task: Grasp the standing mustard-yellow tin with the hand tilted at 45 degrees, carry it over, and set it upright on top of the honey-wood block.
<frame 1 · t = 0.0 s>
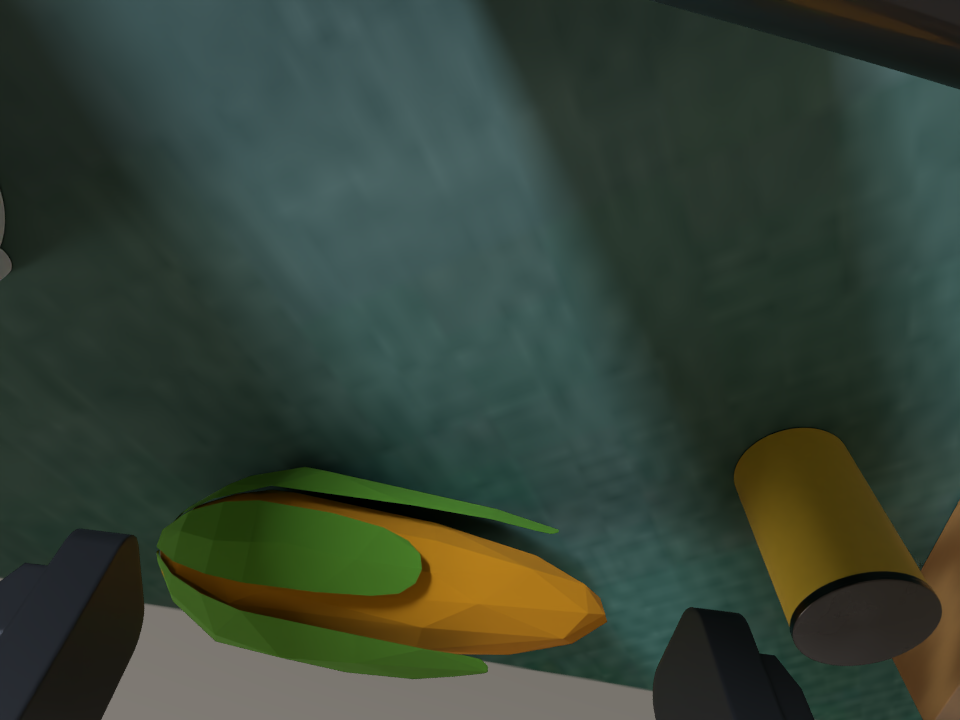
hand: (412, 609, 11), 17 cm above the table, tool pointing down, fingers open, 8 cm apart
corn: (403, 512, 34), on the table
tin: (790, 469, 32), on the table
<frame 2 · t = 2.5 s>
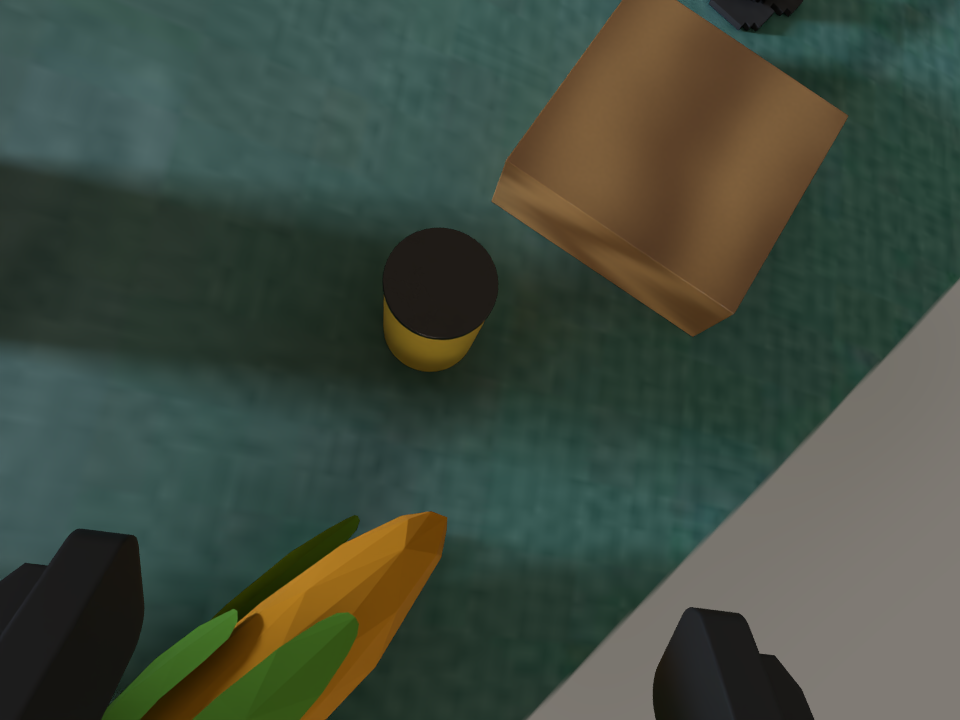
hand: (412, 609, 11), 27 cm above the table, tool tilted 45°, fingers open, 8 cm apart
wood block: (650, 179, 43), on the table
corn: (282, 650, 35), on the table
tin: (429, 327, 39), on the table
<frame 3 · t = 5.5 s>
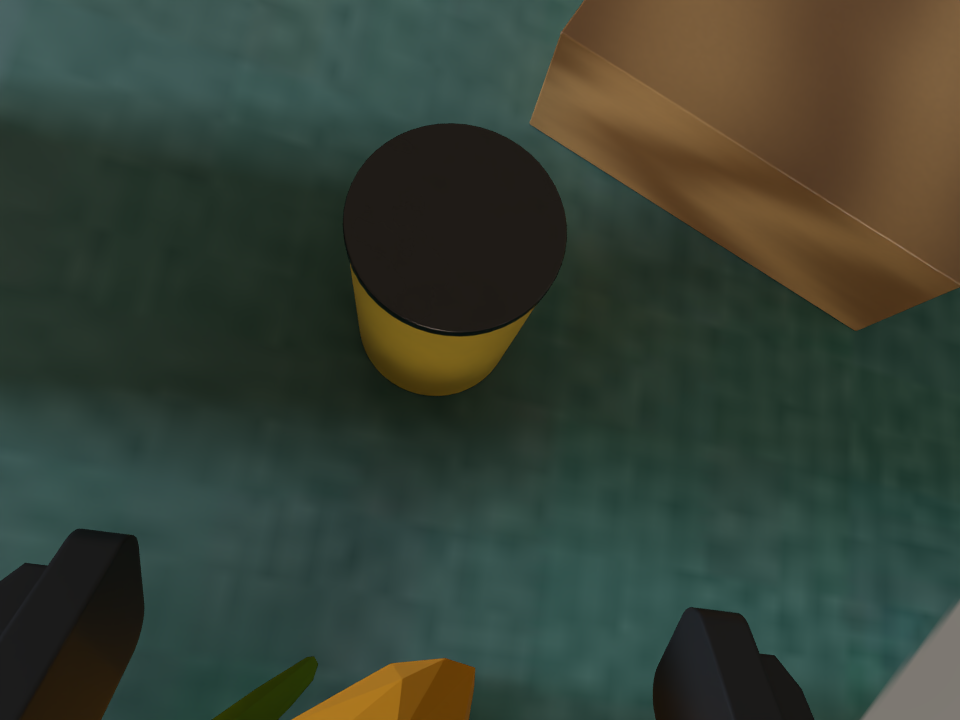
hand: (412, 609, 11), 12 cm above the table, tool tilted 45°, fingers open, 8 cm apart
wood block: (772, 90, 28), on the table
tin: (435, 322, 24), on the table
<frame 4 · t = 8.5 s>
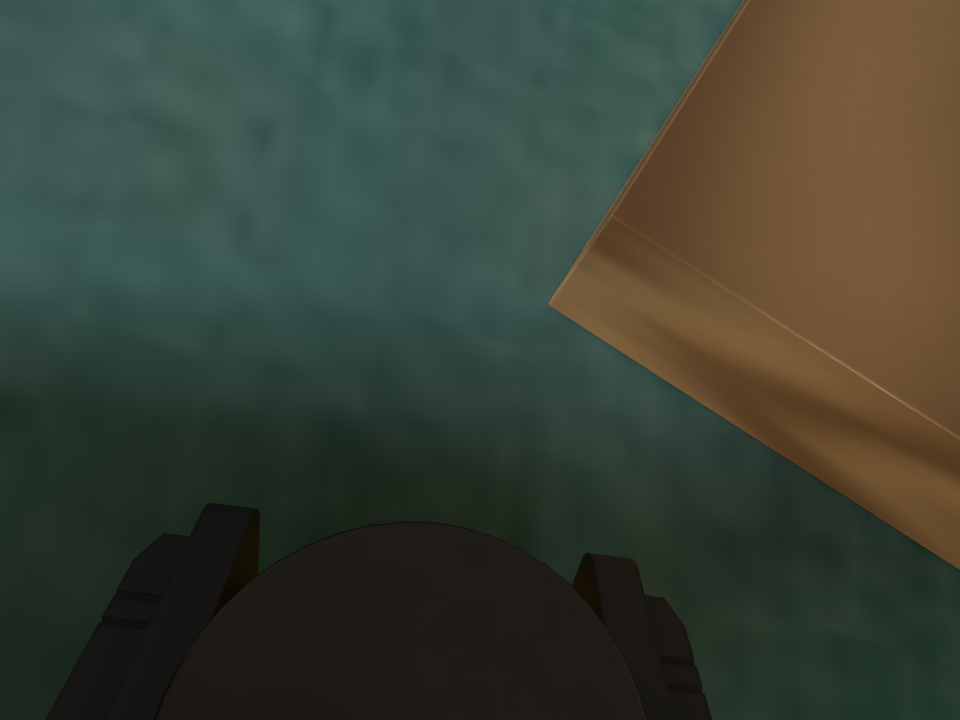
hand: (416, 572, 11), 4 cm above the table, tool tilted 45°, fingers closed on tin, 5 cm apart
wood block: (909, 239, 19), on the table
tin: (396, 653, 15), on the table, touching gripper
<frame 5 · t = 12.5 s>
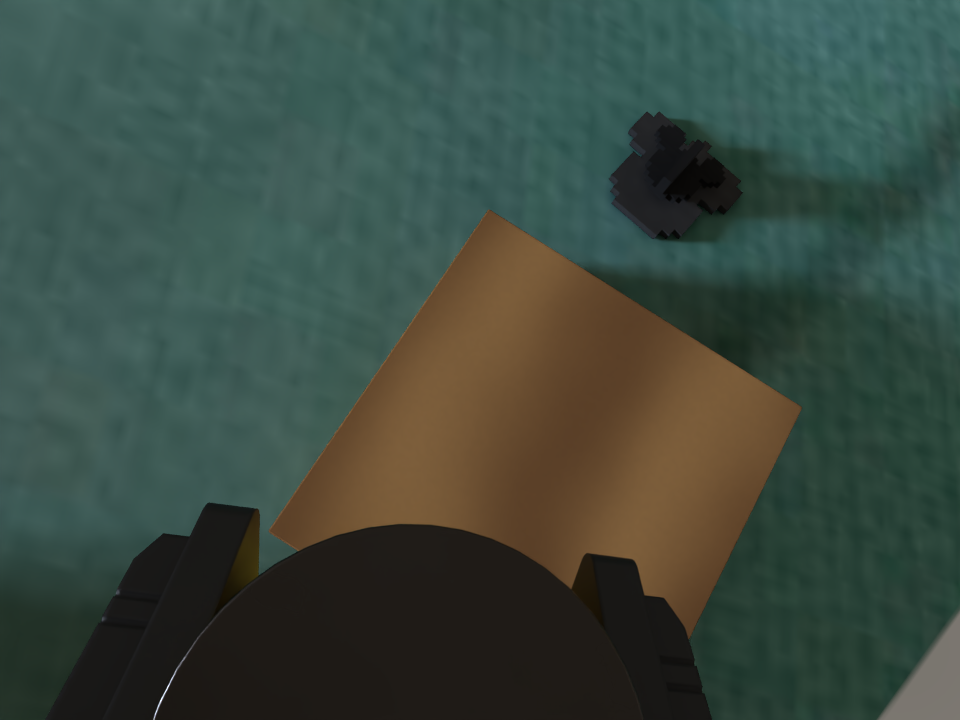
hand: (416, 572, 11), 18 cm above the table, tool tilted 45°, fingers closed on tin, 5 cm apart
wood block: (526, 475, 30), on the table
block figure: (665, 184, 34), on the table
tin: (395, 654, 15), point 14 cm above the table, touching gripper
when the fingers open (9 cm above the table, at t = 16.4 s): tin stays where it is, resting on wood block.
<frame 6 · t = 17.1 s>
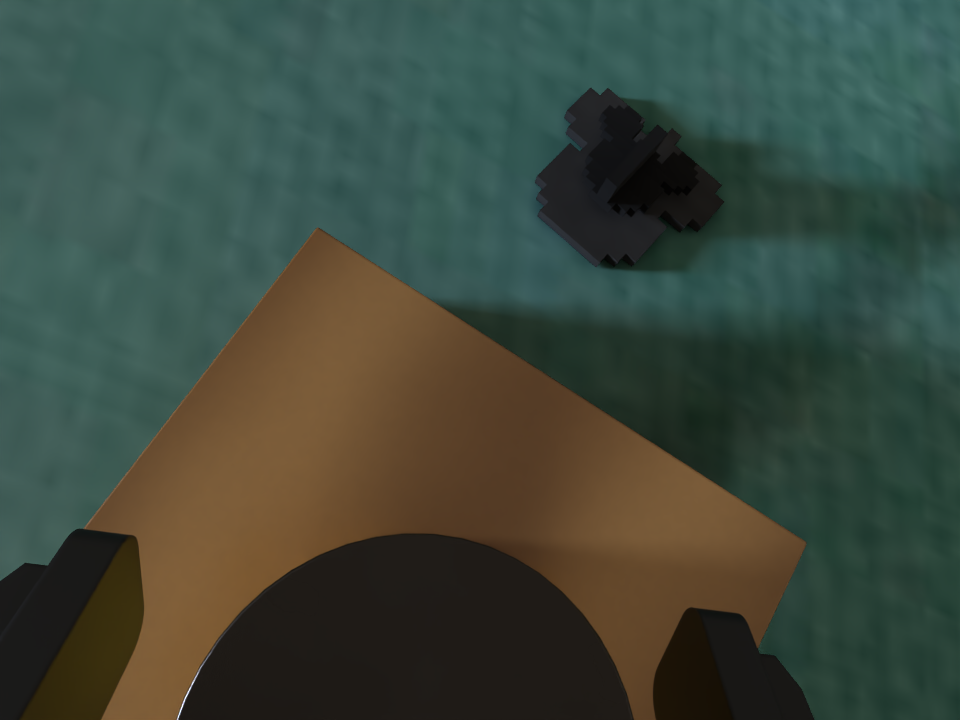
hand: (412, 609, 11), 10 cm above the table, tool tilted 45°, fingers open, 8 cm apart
wood block: (395, 620, 20), on the table
block figure: (616, 189, 24), on the table
tin: (400, 654, 15), point 5 cm above the table, touching wood block
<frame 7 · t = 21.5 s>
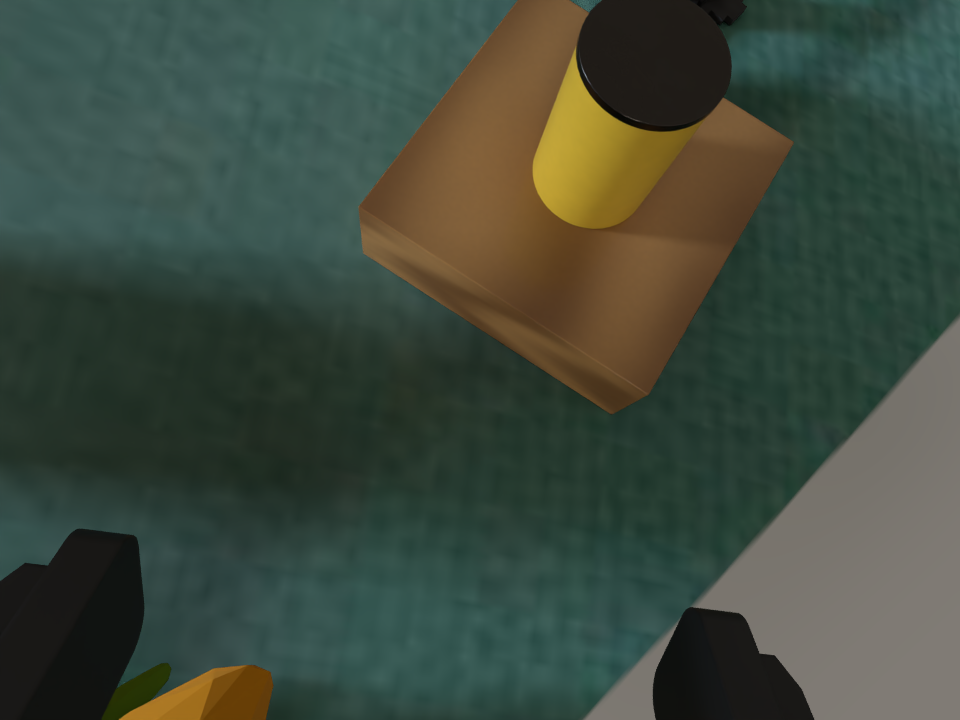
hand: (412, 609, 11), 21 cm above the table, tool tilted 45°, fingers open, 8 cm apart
wood block: (561, 221, 35), on the table
block figure: (680, 0, 40), on the table
tin: (589, 175, 31), point 5 cm above the table, touching wood block
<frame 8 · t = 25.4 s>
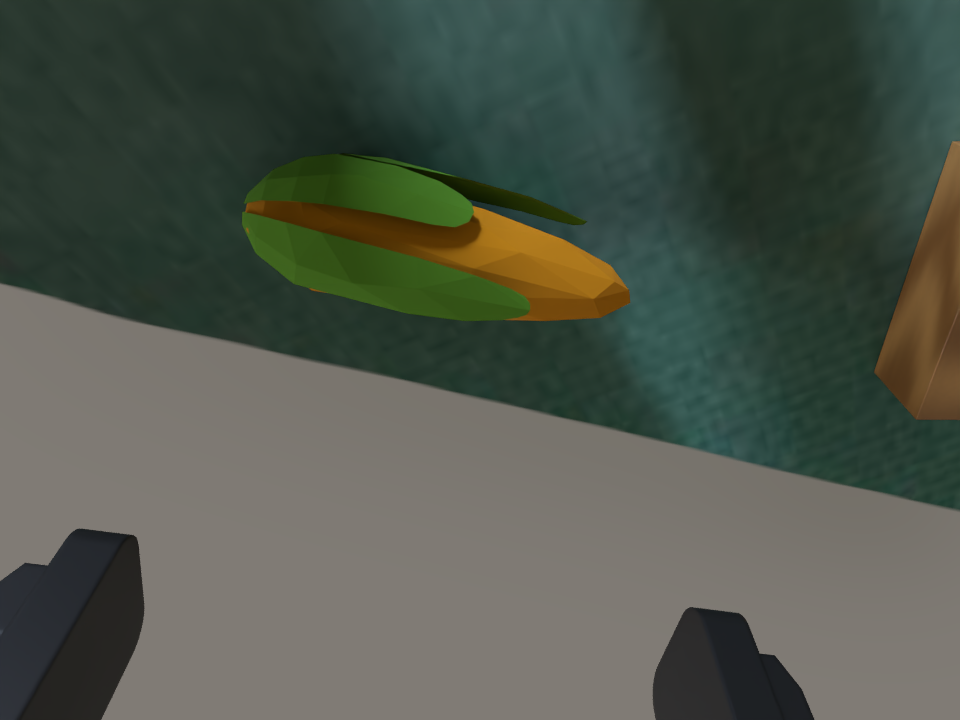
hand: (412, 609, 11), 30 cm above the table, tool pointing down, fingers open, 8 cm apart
corn: (449, 222, 39), on the table
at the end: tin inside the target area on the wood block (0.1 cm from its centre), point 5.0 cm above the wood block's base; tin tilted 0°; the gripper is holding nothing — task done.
